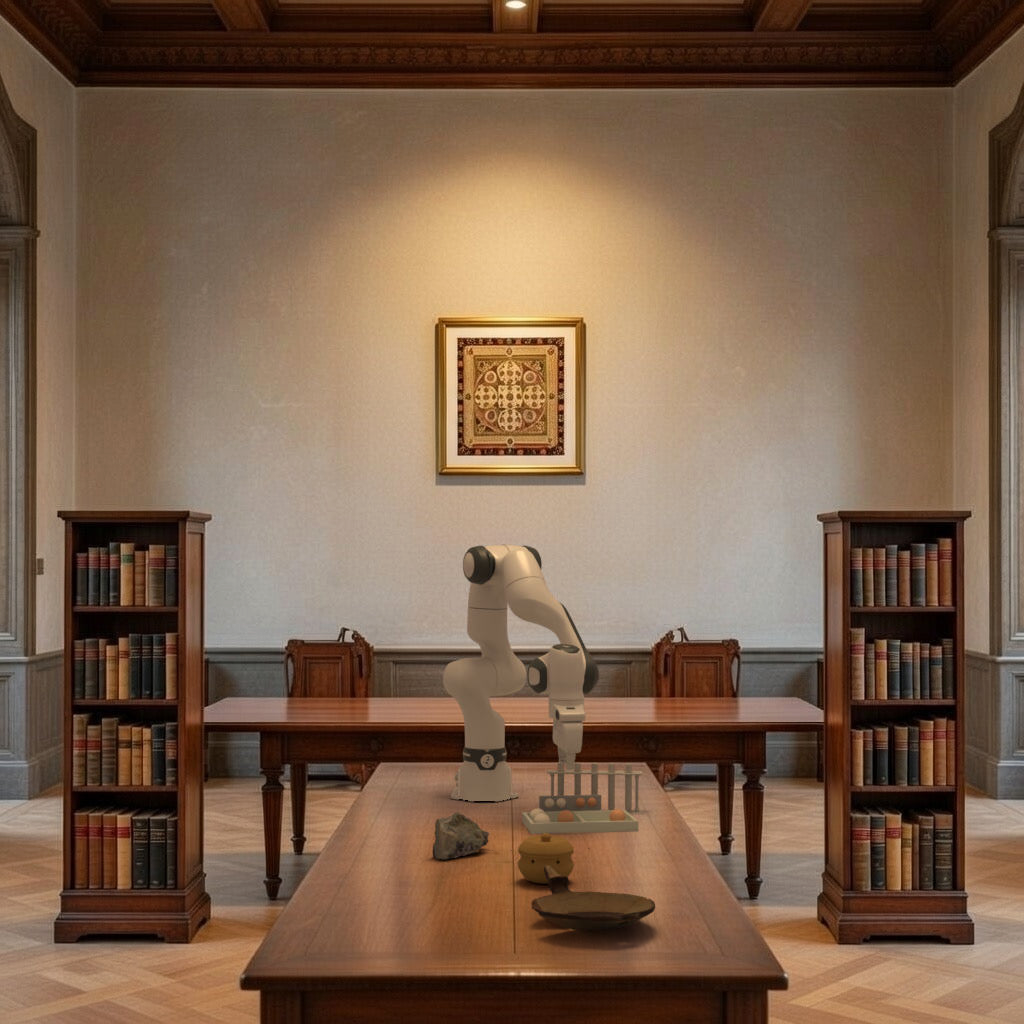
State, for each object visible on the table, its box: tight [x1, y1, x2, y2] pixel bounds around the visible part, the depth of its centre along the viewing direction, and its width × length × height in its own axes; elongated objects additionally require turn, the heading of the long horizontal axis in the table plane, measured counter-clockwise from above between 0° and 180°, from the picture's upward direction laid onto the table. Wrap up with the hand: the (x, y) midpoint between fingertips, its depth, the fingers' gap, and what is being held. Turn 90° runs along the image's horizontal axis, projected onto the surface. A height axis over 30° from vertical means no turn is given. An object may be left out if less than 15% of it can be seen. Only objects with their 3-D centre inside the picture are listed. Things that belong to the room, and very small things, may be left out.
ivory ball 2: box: [534, 813, 550, 823], centre depth 337 cm, size 4×4×4 cm
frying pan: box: [531, 865, 656, 932], centre depth 255 cm, size 22×30×8 cm
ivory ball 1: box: [530, 807, 545, 822], centre depth 343 cm, size 4×4×4 cm
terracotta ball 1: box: [558, 810, 574, 822], centre depth 341 cm, size 4×4×4 cm
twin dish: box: [521, 809, 639, 835], centre depth 341 cm, size 15×26×3 cm, turn 98°
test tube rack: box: [546, 761, 643, 815], centre depth 362 cm, size 25×4×13 cm, turn 86°
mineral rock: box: [432, 811, 490, 861], centre depth 310 cm, size 13×11×10 cm
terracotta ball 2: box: [609, 808, 625, 821], centre depth 343 cm, size 4×4×4 cm
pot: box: [517, 833, 575, 885], centre depth 287 cm, size 12×12×10 cm
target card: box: [538, 794, 602, 812], centre depth 354 cm, size 1×16×6 cm, turn 98°
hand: (566, 766), depth 341 cm, fingers open, 8 cm apart
